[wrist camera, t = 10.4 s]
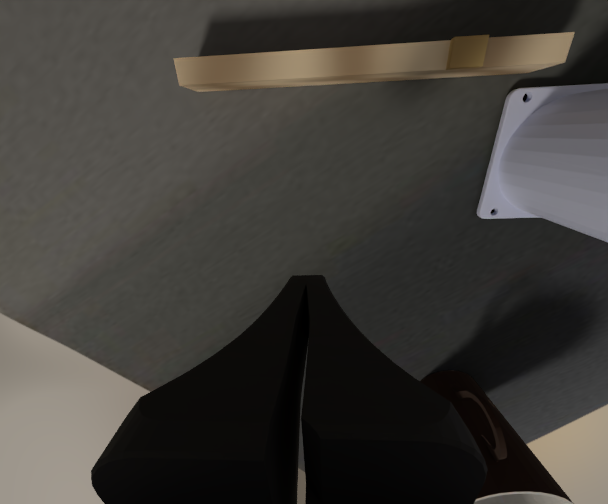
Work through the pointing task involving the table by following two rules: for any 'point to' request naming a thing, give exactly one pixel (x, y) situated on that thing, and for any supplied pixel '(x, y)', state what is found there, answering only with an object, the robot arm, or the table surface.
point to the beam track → (375, 62)
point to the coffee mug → (497, 446)
